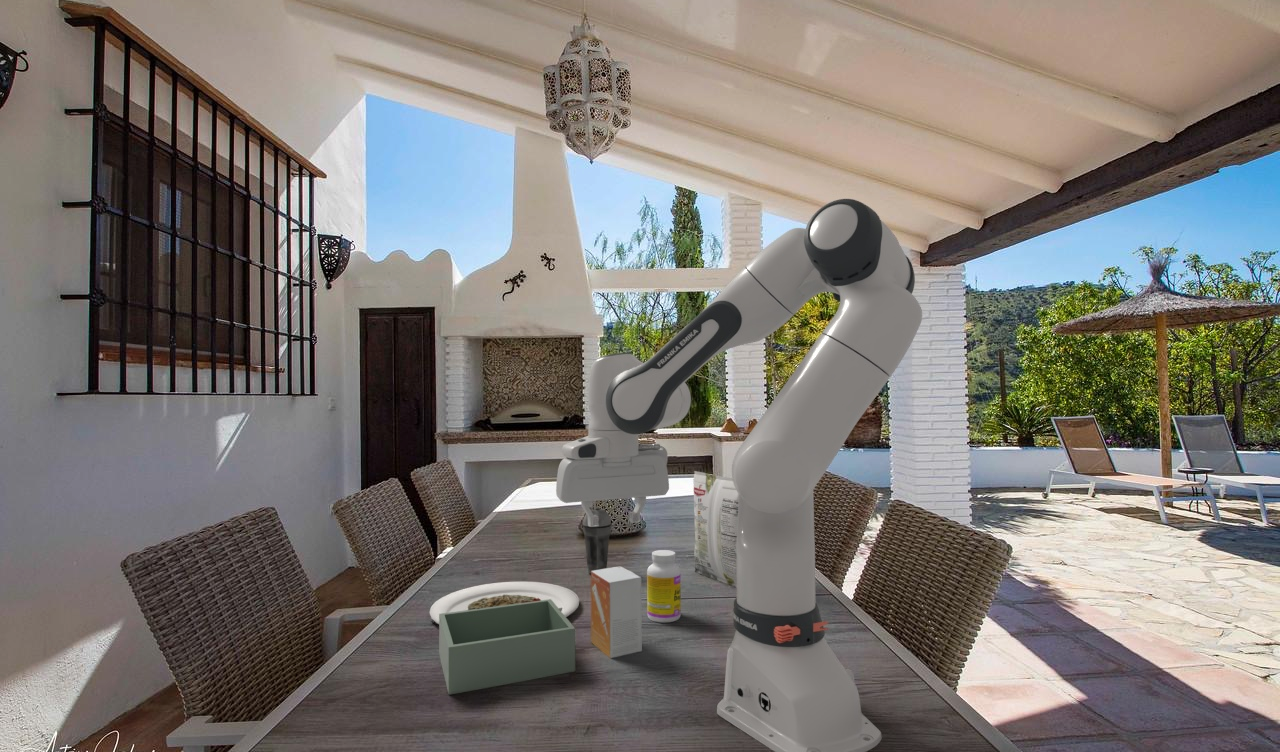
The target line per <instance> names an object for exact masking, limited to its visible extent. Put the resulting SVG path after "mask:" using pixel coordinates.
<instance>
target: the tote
mask: <svg viewBox="0 0 1280 752" xmlns="http://www.w3.org/2000/svg"><path fill="white" fill-rule="evenodd" d="M561 611H562V610H560V608H558V607H557V606H556V605H555V604H554V602H553V601H552V600H551V599H548V600H541V601H533V602H526V603H518V604H510V605H503V606H495V607H488V608H480V609H473V610H465V611H457V612H450V613H442V614H439V624H438V625H439V626H438V631H439V632H438V633H439V634H438V649H439V650H438V653H439V654H438V656H439V660H440V664H441V668H442V673H443V676H444V681H445V684H446V689H447V693H448V695H449V696H450V695H454V694H461V693H465V692H466V693H467V692H470V691H471V692H472V691H477V690H481V689H483V690H484V689H488V688H493V687H499V686H504V685H509V684H514V683H515V684H516V683H519V682H525V681H530V680H535V679H536V680H537V679H539V678H546V677H552V676H557V675H562V674H567V673H572V672H576V627H574V626H573V624H572V623H571V621H570V620H569V619H568V618H567V617H565V616H564V614H563V613H562V612H561Z"/></svg>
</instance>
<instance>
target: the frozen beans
mask: <svg viewBox="0 0 1280 752" xmlns="http://www.w3.org/2000/svg"><path fill="white" fill-rule="evenodd" d="M693 472H694V474H693V479H692V480H693V481H692V482H693V511H694V513H693V514H694V535H695V537H694V538H695V539H694V554H693V555H694V556H693V557H694V558H693V559H694V560H693V561H694V562H693V563H694V572H695V573H696V574H700V575H702V576H705V577H708V578H710V579H713V580H715V581H719V582H721V583H724V584H727V585H730V586H732V587H734V588H737V583H736V541H737V525H738V500H739V494H738V492H737V490H736V488H735V486H734V483H733V479H732V477H727V476H720V475H716V474H711V473H706V472H702V471H696V470H695V471H693Z"/></svg>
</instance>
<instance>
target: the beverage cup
mask: <svg viewBox="0 0 1280 752" xmlns="http://www.w3.org/2000/svg"><path fill="white" fill-rule="evenodd" d="M590 510H591V512H592V513H593V515H597V516H599V521H598V523H599V526H596V527H589V526H588V516H587V515H586V514H585V515H584V517H583V519H582V525H581V526H582V531H583V535H584V544H585V545H584V546H585V554H586V555H585V556H586V558H585V559H586V566H587V573H589V574H591V571H594V570H600V569H605V568H608V557H609V556H608V555H609V545H610V543H609V542H610V533H611V529H612V528H611V527H612V522H611V517H610V515H609V513H608V512H607V511H606V510H604V509H603V508H597V501H593V508H592V509H591V508H590Z"/></svg>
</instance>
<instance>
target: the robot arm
mask: <svg viewBox="0 0 1280 752" xmlns="http://www.w3.org/2000/svg"><path fill="white" fill-rule="evenodd" d="M899 242H900V241H899V239H898V238H897V236H896V235H895V234H894V233H893V231H892V230H891V228H889V227H888V225H887V224H885V222H884V221H882V219H881V218H880V216H879V215H878V213H877V212H876V211H875V209H873V208H871V206H868V205H866V204H865V203H864V202H861V201H859V200H856V199H853V198H840V199H837V200H833V201H830V202H829V203H827V204H825V205H823V206H822V207H821V208H819V209H818V210H817V211H816V212H815V213H814V214H813V215H812V216H811V218H810V219H809V221H808V223H807V224H806V227H805V228H803V227H795V228H791V229H789V230H787V231H786V232H785V233H783V234H781V235H780V236H778V237H777V238H776V239H775V240H773V241H772V242H771V243H769V244H768V245H767V246H766V247H764V248H763V249H762V250H761V251H760V252H758V253H757V254H756V255H755V256H754V257H753V258H752V259H751V260H750V261H749V262H748V263H747V264H745V266H744V267H743V268H742V269H740V271H739V272H738V273H737V274H736V275H735V276H734V277H733V278H732V279H731V281H730V282H728V283H727V285H726V286H725V287H724V288H723V289H722V290H721V291H720V293H718V295H717V296H716V297H714V298H713V300H712V301H711V302H710V303H709V304H707V306H705V308H703V310H702V311H701V312H700V313H699V314H698V315H697V316H696V317H694V318H693V319H692V320H691V321H690V322H689V323H687V324H686V325H685V326H684V327H683V328H681V330H680V331H679V332H677V334H675V335H674V336H673V337H672V338H670V340H669V341H668V342H667V343H666V344H664V345H663V346H662V347H661V348H660V349H659V350H658V351H657V352H656V353H654V354H653V356H652V357H649V359H648V360H646V361H645V362H642V361H641V360H640V359H638V358H637V357H636V356H635V355H633V354H632V353H629V352H620V353H619V352H618V353H611V354H610V353H609V354H606V355H603V356H600V357H598V358H597V359H595V360H594V361H593V362H592V364H591V367H590V369H589V377H588V390H587V391H588V393H587V394H588V395H587V403H588V404H587V405H588V409H589V413H590V419H589V424H588V430H587V431H588V435H586V436H584V437H580V438H578V439H576V440H573V441H570V442H567V443H564V444H563V446H562V447H561V453H562V455H563V456H564V458H563V459H562V460H561V461H560V463H559V465H558V468H557V475H556V486H555V487H556V488H555V492H556V497H557V498H558V499H559V500H560V501H561V502H562V503H565V504H568V503H569V504H570V503H580V505H581V508H582V509H583V511H584V513H585V515H587V516H588V526H589V527H596V526H599V523H598V521H599V516H597V515H593V513H592V512H591V508H593V507H594V501H596V502H597V501H607V500H619V499H621V500H622V499H633V498H634V502H636V505H635V506H634V509H633V510H632V511H629V512H628V520H629V523H631V524H635V523H636V524H637V523H639V524H640V522H641V513H642V511H643V510H644V508H645V506H646V504H647V497H658V496H659V497H660V496H666V495H667V493H668V491H669V490H670V480H669V474H668V473H669V471H668V466H667V464H668V450H667V449H666V448H665V447H664V446H662V445H661V444H659V443H652V444H649V443H648V444H647V443H645V444H644V443H642V444H641V443H639V435H641V434H645V433H647V432H649V431H652V430H653V431H654V430H659V429H662V428H667V427H672V426H674V425H676V424H678V423H680V422H681V421H683V420H684V419H685V418H686V417H687V415H688V414H689V411H690V410H691V406H692V393H691V390H690V388H689V385H688V384H687V381H688V380H689V379H691V377H693V375H694V374H696V373H697V372H698V371H699V370H700V369H701V368H702V367H703V366H705V364H707V363H708V362H709V361H710V360H712V359H713V358H715V357H716V356H717V355H719V354H721V353H723V352H725V351H728V350H730V349H733V348H737V347H739V346H743V345H748V344H753V343H757V342H761V341H762V340H763V339H765V338H767V337H768V336H770V335H772V334H773V333H774V332H776V331H777V330H779V329H780V328H781V327H782V326H783V325H785V324H786V323H787V322H788V321H789V320H790V319H791V318H793V317H794V315H795V314H796V313H798V312H799V310H800V309H801V308H803V307H804V306H805V304H807V302H809V301H810V300H811V299H812V298H814V297H816V296H817V295H819V294H822V293H831V294H832V295H833V298H834V300H835V301H837V302H839V306H838V308H837V311H836V312H835V314H834V315H833V317H832V319H831V320H830V321H829V322H828V324H827V325H826V326H825V328H824V329H823V331H822V332H821V334H819V336H818V338H817V339H816V340H815V342H814V343H813V344H812V346H811V348H810V349H809V350H808V351H807V353H806V354H805V356H804V357H803V358H802V360H801V361H800V363H799V364H798V365H797V367H796V368H795V370H794V371H793V373H792V374H791V376H789V379H788V380H787V382H785V384H784V385H783V386H782V388H781V389H780V391H779V392H778V394H777V395H776V397H775V398H774V399H773V400H772V402H771V403H770V404H769V406H768V408H767V409H766V410H765V411H764V413H763V414H762V416H761V417H760V419H758V422H756V424H755V425H754V426H753V428H752V429H751V431H750V432H749V434H748V435H747V437H746V438H745V440H744V441H743V442H742V443H741V445H740V446H739V447H738V449H737V450H736V453H735V455H734V457H733V460H732V465H731V478H732V479H733V483H734V486H735V488H736V490H737V492H738V494H739V500H738V525H737V541H736V583H737V587H736V598H734V600H733V607H732V618H733V627H734V629H735V633H734V636H733V639H732V642H731V644H730V646H729V648H728V649H727V652H726V654H727V655H726V661H725V662H726V664H725V674H724V675H725V677H724V679H725V680H724V688H723V689H724V690H723V691H724V692H723V698H722V699H721V700H720V701H719V702H718V704H716V705H717V706H716V714H717V715H718V716H719V717H720V718H722V719H723V720H725V721H727V722H728V723H730V724H732V725H733V726H734V727H736V728H738V729H739V730H741V731H742V732H743V733H745V734H747V735H748V736H750V737H752V738H753V739H755V740H756V741H757V742H760V744H763V745H764V746H766V747H767V748H769V749H770V750H772V751H773V752H868V751H869V750H872V749H873V748H875V747H877V745H878V744H879V743H880V742H881V740H882V739H883V738H882V737H883V735H882V732H881V730H879V728H877V727H876V725H874V723H872V721H870V720H869V719H868V718H867V717H866V716H865V715H864V714H863V713H862V708H861V699H860V694H859V689H858V687H857V685H856V683H855V676H854V673H853V670H851V669H849V668H845V667H844V665H843V664H842V663H841V661H840V660H839V658H838V657H837V656H836V655H837V654H835V652H834V651H833V650H832V648H831V646H830V645H829V644H828V641H827V640H826V638H825V635H826V632H825V631H827V630H829V628H828V627H825V626H826V625H828V624H829V621H828V620H827V621H823V620H822V614H821V613H820V608H819V605H818V604H817V602H816V545H815V543H816V541H815V511H814V510H815V509H814V507H815V504H814V503H815V502H814V489H815V488H816V486H817V484H818V483H819V481H820V480H821V479H822V477H823V476H824V474H825V473H826V472H827V470H828V468H830V467H829V466H830V465H831V464H832V462H833V460H834V459H835V458H836V456H837V454H838V453H839V452H840V450H841V448H842V447H843V445H844V444H845V442H846V440H847V439H848V437H849V435H851V432H852V431H853V429H854V428H855V426H856V425H857V423H858V422H859V420H860V419H861V418H862V416H863V415H864V414H865V412H866V411H867V409H868V408H869V407H870V405H871V404H872V403H873V401H874V400H875V398H877V396H878V394H880V392H881V391H882V389H883V387H884V386H885V385H886V383H887V382H888V381H889V379H890V378H891V377H892V375H893V374H894V372H895V371H896V369H897V368H898V366H899V365H900V363H902V360H903V359H904V357H905V355H906V354H907V352H908V350H909V348H910V346H911V344H912V343H913V341H914V339H915V336H916V334H917V333H918V330H919V329H920V327H921V324H922V321H923V311H922V307H921V304H920V303H919V301H918V299H917V298H916V297H915V295H913V292H914V289H915V284H916V283H915V282H916V279H915V270H914V267H913V265H912V262H911V260H910V258H909V257H908V256H907V255H906V254H905V252H904V250H903V248H902V246H901V244H900V243H899Z"/></svg>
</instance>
